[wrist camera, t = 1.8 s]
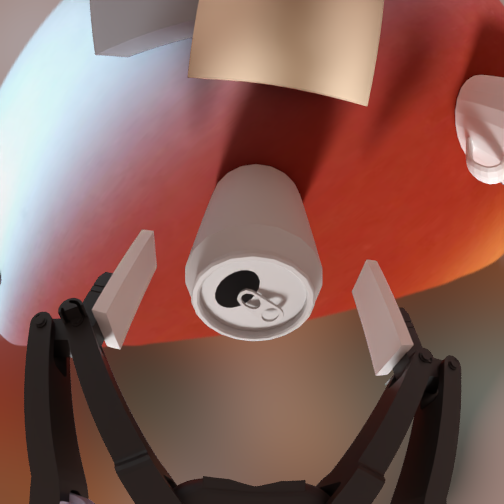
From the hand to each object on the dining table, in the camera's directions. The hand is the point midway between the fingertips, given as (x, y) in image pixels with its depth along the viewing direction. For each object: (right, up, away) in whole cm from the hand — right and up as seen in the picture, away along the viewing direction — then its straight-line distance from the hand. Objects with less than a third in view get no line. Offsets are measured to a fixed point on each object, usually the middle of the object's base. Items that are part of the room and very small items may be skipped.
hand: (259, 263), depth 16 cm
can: (0, +5, +7) cm, 9 cm away
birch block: (+2, +17, -2) cm, 17 cm away
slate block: (-7, +20, -3) cm, 21 cm away
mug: (+21, +13, +1) cm, 25 cm away
